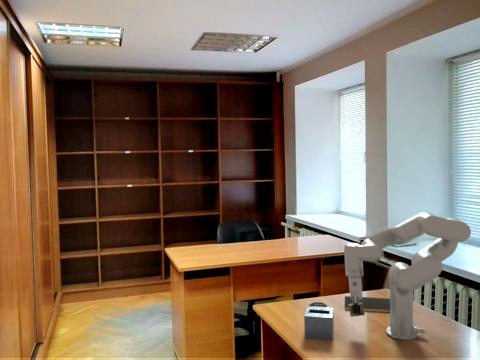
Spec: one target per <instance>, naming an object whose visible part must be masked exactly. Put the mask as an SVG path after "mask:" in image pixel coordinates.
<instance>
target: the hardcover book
mask: <svg viewBox="0 0 480 360" xmlns="http://www.w3.org/2000/svg"><path fill="white" fill-rule="evenodd" d="M352 302H353V299H351V296H348V295H345V296H344V310H346V311H347V310H349V304H352ZM359 303H362V304H363V308H364V312H377V313H379V312H381V313H390V297H389V298H386V297H385V298H384V297H369V296H368V297H367V296H362V299H359ZM349 311H350V310H349Z"/></svg>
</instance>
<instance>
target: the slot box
mask: <svg viewBox="0 0 480 360" xmlns="http://www.w3.org/2000/svg"><path fill="white" fill-rule="evenodd" d="M334 308H335V307H329V306H327V307H316V306H309V305H306V309H305V312H304V315H303V319H304V322H303V323H304V325H303V327H304V339H306V340H307V339H310V340H321V341H332V342H333V341H334V333H335V331H334V330H335V317H334V315H335V313H334V312H335V311H334V310H335V309H334Z"/></svg>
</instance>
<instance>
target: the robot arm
mask: <svg viewBox="0 0 480 360" xmlns="http://www.w3.org/2000/svg"><path fill="white" fill-rule="evenodd" d="M471 233H472V230H471V227H470V226H469V225H468V223H466V222H464V221H462V220H459V219H457V218H455V217H446V218H445V217H441V216H437V215H435V214H432V213H431V212H427V211H423V212H419V213H418V214H416V215H414V216H412V217H410V218H408V219H407V220H405V221H403V222H401V223H399V224H398V225H395V226H393V227H390V228H387V229H385V230H381V231H379V232H376V233H375V234H372V235H371V236H369V237H367V238H365V239H364V240H363V241H362V242H360V243H356V242H349V243H346V244H345V245H344V247H343V252H344V267H345V270H344V272H345V276H346V277H348V287H349V295H350V296H351V299H353V302H352V309H353V314H360V305H359V299H362V297H363V284H362V277H363V276H364V264H363V263H364V262H377V261H379V260H380V259H381V257H382V253H383V251H382V250H384V249H386V248H388V247H390V246H396V245H397V246H398V245H399V246H402V245H406V244H408V243H410V242H413V241H414V240H416V239H418V238H420V237H421V236H424V235H428V236H430V237H435V238H436V239H435V240H434V241H432V242H431V243H429V244H428V245H427V246H425V247H423V248H421V249H420V250H418V251H416V252H415V253H414V254H413V255H412V256H411V265H410V266H409V265H408V263H405V262H403V261H402V262H401V261H399V262H395V263H392V264H391V266H390V267H389V270H388V283H389V299H390V312H389V326H388V327H387V328H386V329H385V331H386V334H387V336H389V337H391V338H393V339H396V340H400V341H411V340H414V339H417V337H418V333H421V334H425V333H426V329H425V327H422V326H421V325H420V326H419V325H414V291H416V290H418V289H420V288H422V287H424V286H425V285H426V284H428V283H430V282H432V281H433V280H435V279H436V278H438V277H439V275H440V274H441V272H442V270H443V263H442V262H443V261H445V260H447V259H448V258H449V257H451V256H452V255H454V253H455V251H456V250H457V247H458V244H459V243H462V242H463V243H464V242H466V241H467V240H468V239H470V237H471V235H472V234H471Z"/></svg>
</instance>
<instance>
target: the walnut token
mask: <svg viewBox="0 0 480 360" xmlns="http://www.w3.org/2000/svg"><path fill="white" fill-rule="evenodd" d="M359 305H360V314H353V309H352V304H349V314H350V318H352V317H353V318H354V317H360V316H365V314H366V313H365V311H364V308H363V304H362V303H359Z"/></svg>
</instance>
